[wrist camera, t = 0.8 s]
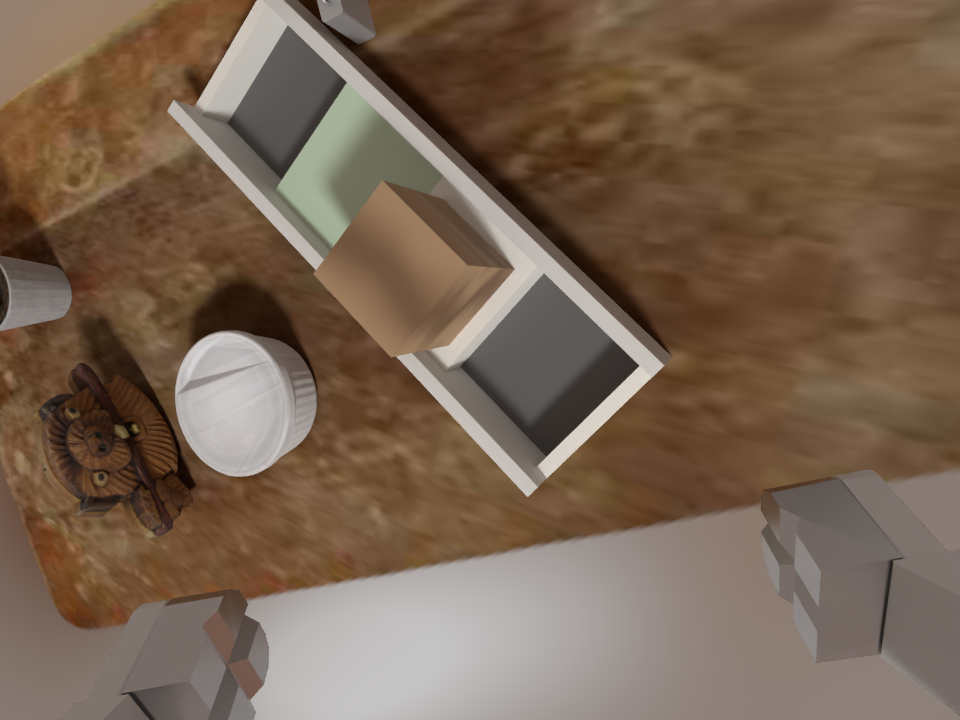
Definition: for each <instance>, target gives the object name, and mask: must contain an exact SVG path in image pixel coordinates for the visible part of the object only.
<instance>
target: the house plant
mask: <svg viewBox="0 0 960 720" xmlns="http://www.w3.org/2000/svg"><path fill="white" fill-rule="evenodd" d="M71 299H72V291H71V287H70V284H69V281H68V279H67V277H66V275H65V273H64V272H63V271H62V270H61V269H60V268H58V267H56V266H52V265H47V264H42V263H37V262H31V261H26V260H21V259H16V258H11V257H6V256H0V331H2V330H7V329H12V328H16V327H21V326H26V325H31V324H35V323H40V322H45V321H50V320H54V319H58V318H61V317H63V316H64V315H65V314H66V313H67V311H68V310H69V307H70V305H71Z"/></svg>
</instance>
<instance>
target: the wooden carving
mask: <svg viewBox="0 0 960 720" xmlns="http://www.w3.org/2000/svg"><path fill="white" fill-rule="evenodd" d="M68 384H69V387H70V388H71V390H72V392H73V394H74V395H72V394H61V395H57V396H55V397H54V398H52V399H49V400H48V401H47V402H46V403H45V404H44V405H43V406H42V407H41V408H40V409H39V410H38V411H36V412H35V413H34V414H33V415H32V417H33V419H34V421H35V422H36V423H37V424H38V432H37V446H38V451H39V459H40V464H41V466H42V469H43V471H44V473H45V474H46V476H47V478H48V480H49V482H50V483H51V485H52V486H53V487H54V488H55V490H56V491H57V492H58V493H59V494H60V495H62V496H63V497H64V498H65V499H66V500H67V501H68V502H70V503H71V504H73V505H74V507H75V510H74V513H75V516H76V517H79V518H82V517H87V518H98V517H103V516H104V515H105V514H106V513H107V512H108V511H110V510H111V508H112V507H113V506H115V505H116V504H118V503H119V502H121V503H122V507H123V510H124V512H125V514H126V516H127V518H128V520H129V522H130V523H131V525H132V526H133V527H134V529H135V530H136V531H137V532H139V533H141V534H143V535H144V536H145V537H147V538H148V539H149V540H153V539H156V538H158V537H160V536H162V535H163V534H165V533H167V532H168V531H170V530H171V529H172V528H173V521H174V520H175V519H176V518H177V517H179V516H180V514H181V512H182V511H183V510H185V509H186V508H187V507H189V506H190V505H191V504H192V503H193V497H192V495H191V493H190V491H189V489H188V488H187V487H186V486H185V485H184V484H183V483H182V482H181V481H180V480H179V479H178V478H177V477H176V476H175V474H176V472H177V468H178V454H177V449H176V446H175V441H174V439H173V435H172V433H171V431H170V429H169V427H168V425H167V423H166V422H165V420H164V418H163V417H162V415H161V414H160V413H159V412H158V410H157V408H156V407H155V406H154V403H152V402H151V401H150V400H149V399H148V398H147V396H146V395H145V394H144V393H143V392H142V391H140V390H139V389H138V388H137V387H136V386H135V385H133V384H132V383H131V382H129V381H128V380H127V379H126V378H124V377H123V376H121V375H119V374H114V375H113V376H112V377H111V378H110V379H108V380H107V381H106V382H105V383H104V384H103V385H102V384H101V382H100V380H99V378H98V376H97V375H96V374H95V373H94V371H93V370H92V369H91V368H90V367H89V366H88V365H86V364H84V363H79V364H78V365H77V366H76V368H75V369H73V370H71V372H70V374H69V377H68Z"/></svg>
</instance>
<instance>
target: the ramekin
mask: <svg viewBox="0 0 960 720" xmlns="http://www.w3.org/2000/svg"><path fill="white" fill-rule="evenodd" d="M175 404H176V411H177V416H178V420H179V424H180V427H181V429H182V432H183V434H184V436H185V438H186V440H187V442H188V443H189V445H190V447H191V448H192V449H193V451H194V452H195V453H196V454H197V455H198V457H199V458H200V459H201V460H202V461H203V462H205V463H206V464H207V465H208V466H210V467H211V468H213V469H215V470H217V471H218V472H221V473H223V474H226V475H229V476H248V475H252V474H255V473H258V472H261V471H263V470H265V469H267V468H268V467H270V466H271V465H272V464H273V463H275V462H276V461H277V460H278V459H279V458H280V457H281V456H283V455H284V454H286V453H287V452H289V451H290V450H292V449H293V448H295V447H296V446H297V445H298V444H299V443H301V442H302V441H303V439H304V438H305V437H306V436H307V434H308V432H309V431H310V429H311V426H312V424H313V421H314V418H315V414H316V409H317V393H316V386H315V383H314V379H313V376H312V374H311V372H310V370H309V368H308V366H307V364H306V363H305V362H304V360H303V358H302V357H301V356H300V355H299V354H298V353H297V352H296V351H295V350H294V349H293V348H291V347H289V346H288V345H287V344H285V343H282V342H281V341H279V340H275V339H272V338H267V337H261V336H255V335H252V334H250V333H247V332H243V331H236V330H226V331H219V332H215V333H212V334H209V335H207V336H205V337H204V338H202V339H200V340H199V341H198V342H197V343H196V344H195V345H194V346H193V347H192V348H191V349H190V350H189V352H188V353H187V355H186V356H185V358H184V360H183V362H182V364H181V367H180V369H179V372H178V375H177V380H176V388H175Z"/></svg>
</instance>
